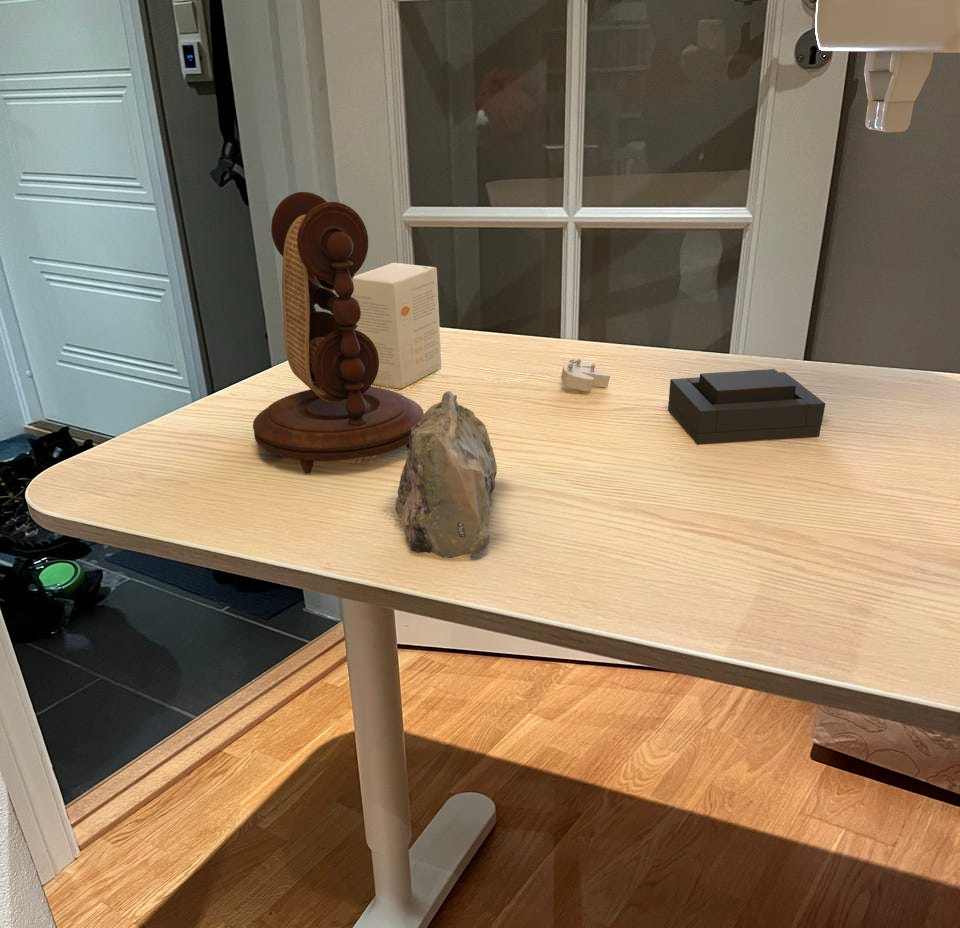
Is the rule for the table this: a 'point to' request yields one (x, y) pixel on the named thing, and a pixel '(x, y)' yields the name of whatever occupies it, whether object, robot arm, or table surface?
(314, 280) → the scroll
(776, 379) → the black rectangular block
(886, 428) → the table surface
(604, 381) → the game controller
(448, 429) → the mineral rock
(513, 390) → the table surface
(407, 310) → the small box
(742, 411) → the socket pad
